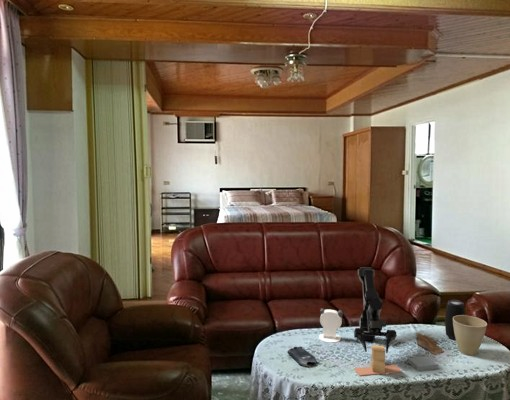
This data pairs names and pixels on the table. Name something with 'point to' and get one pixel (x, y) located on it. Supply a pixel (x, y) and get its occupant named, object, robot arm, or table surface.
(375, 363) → the oak block
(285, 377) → the table surface
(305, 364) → the electronic device
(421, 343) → the wooden fragment
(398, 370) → the terracotta mat
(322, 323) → the panda figurine
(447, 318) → the portable speaker
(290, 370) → the table surface
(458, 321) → the plant pot
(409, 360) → the slate ledge
